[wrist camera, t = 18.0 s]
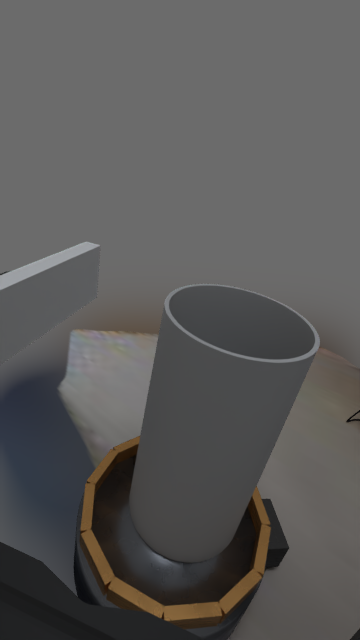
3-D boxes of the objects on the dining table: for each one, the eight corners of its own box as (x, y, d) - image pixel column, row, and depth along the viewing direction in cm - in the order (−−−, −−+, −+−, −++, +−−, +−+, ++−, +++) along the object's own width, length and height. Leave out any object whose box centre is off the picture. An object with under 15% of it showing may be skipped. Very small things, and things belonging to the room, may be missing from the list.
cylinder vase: (105, 527, 35) (135, 318, 24) (158, 445, 46) (196, 273, 34) (218, 592, 32) (316, 387, 20) (246, 488, 43) (321, 313, 31)
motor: (242, 473, 53) (259, 432, 49) (303, 652, 35) (338, 612, 31) (84, 473, 48) (87, 427, 44) (59, 682, 30) (61, 638, 26)
